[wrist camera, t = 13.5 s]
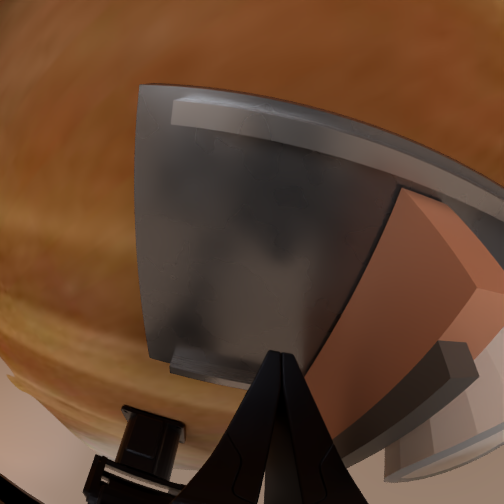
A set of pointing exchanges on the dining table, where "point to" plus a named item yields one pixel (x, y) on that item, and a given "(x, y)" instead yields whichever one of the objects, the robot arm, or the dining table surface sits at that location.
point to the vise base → (270, 222)
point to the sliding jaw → (408, 329)
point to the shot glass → (455, 426)
